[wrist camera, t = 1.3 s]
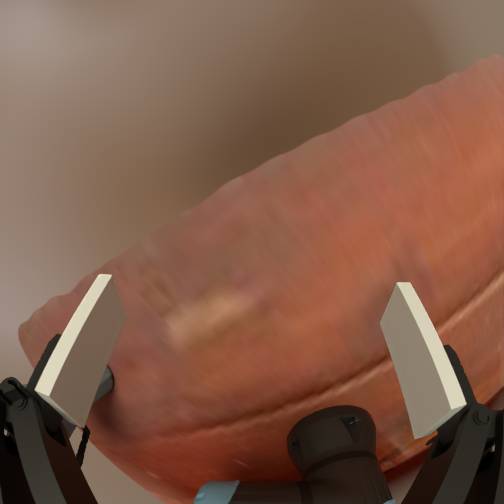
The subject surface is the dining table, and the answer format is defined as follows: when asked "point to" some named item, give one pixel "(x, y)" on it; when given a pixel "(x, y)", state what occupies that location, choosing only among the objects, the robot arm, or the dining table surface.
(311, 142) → the dining table surface
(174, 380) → the dining table surface
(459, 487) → the robot arm
